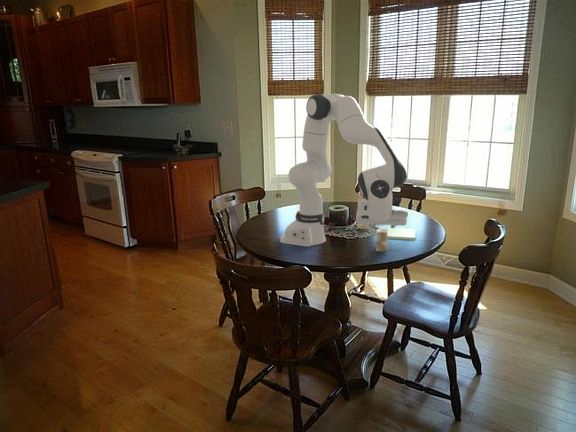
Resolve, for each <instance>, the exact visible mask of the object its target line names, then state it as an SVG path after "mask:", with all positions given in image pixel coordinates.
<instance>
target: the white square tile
mask: <svg viewBox="0 0 576 432" xmlns="http://www.w3.org/2000/svg"><path fill="white" fill-rule="evenodd" d="M386 230H388V232H387V239H388V240H389V239H393V240H405V241H406V240H409V241H415V240H416V229H415V228H403V227H402V228H401V227H395V228H394V229H393V228H391V227H386Z"/></svg>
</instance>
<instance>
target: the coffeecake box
mask: <svg viewBox="0 0 576 432" xmlns="http://www.w3.org/2000/svg"><path fill="white" fill-rule="evenodd" d="M365 201H368V200H366V199H365V198H363V197H362V195H361V193H360V191H358V192H357V209H358V208H359V203H360V202H365ZM356 225H357V226H356V228H357V229H359V228H360V230H369V231H370V230H371V228H372V227H373V226H374V224H372V227H368V226H367V225H366V224H361V223H357V222H356Z"/></svg>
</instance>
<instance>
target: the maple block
mask: <svg viewBox="0 0 576 432" xmlns="http://www.w3.org/2000/svg"><path fill="white" fill-rule="evenodd" d="M387 232H388V230H387V228H386V229H385V228H384V229H382V228H377V229H376V247H375V250H376V252H387V249H388V238H387Z"/></svg>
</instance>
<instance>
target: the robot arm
mask: <svg viewBox="0 0 576 432" xmlns="http://www.w3.org/2000/svg"><path fill="white" fill-rule="evenodd" d="M305 109H306V113H307V114H306V118H305V123H304V126H303V127H304V128H303V136H302V145H301V147H302V149H303V151H304V152H305V153H306V161H304V162H299V163H297V164H295V165H294V166H292V167H290V169H289V171H288V180H289V182H290V184H291V185H292V186H294V188H295V189H296V192H297V194H298V199H299V200H298V201H299V202H298V203H299V210H298V211H296V214H295V220H293V221H292V222H291V223H289V224H288V225H287V226H286V228H285V230H284V234H282V236H280V238H279V242H280V243H281V244H286V245H295V246H299V247H300V246H301V247H312V246H315V245H321V244H324V243H325V242H326V241H327V237H326V235H325V230H324V229H325V228H324V223H325V215H324V210H323V205H324V203H323V202H324V201H323V199H324V198H323V195H322V194H321V193H319V192H318V187H317V184H319V183H323V182H324V181H326V180H328V179H329V178H330V177H331V175H332V173H333V167H332V164H331V163H330V162H329V160H328V156H327V146H328V137H329V129H330V124H331V122H332V121H336V125H337V127H338V130H339V131H338V132H339V133H340V134H341V135H340V136H341V137H342V138H343V140H345V141H346V142H347V143H349V144H352V145H365V146H366V145H367V146H373V147H374V148H375V149H377V150H378V153H379V154H380V156H381V157H382V159H383V160H384V162H385V164H382V165H378V166H376V167H372V168H369V169H366V170H363V171H361V172H359V175H358V177H357V185H358V190H359V192H360V193H361V195H362V197H363V198H365V199H366V200H368V201H365V202H360V203H359V208H358V207H357V210H356V215H355V222H356V224H357V223H361V224H366V225H367V226H368V227H371V228H373V226H372V224H373V225H385V226H390V228H393V229H394V228H397V226H401V227H402V226H403V227H404V226H406V225H407V223H408V221H407V218H408V215H409V213H408V211H406V210H404V209H397V208H395V209H394V208H393V190H392V191H391V188H392V189H395V188H396V189H397V188H400V187H402V186H403V185H404V184H405V182H407V178H408V174H407V171H406V168H405V167H404V165H403V164H402V163H401V161H400V160H399V159H398V157H397V156H396V154H395V152H394V150H393V149H392V148H391V145H390V144H389V142H388V141H387V140H386V138H385V136H384V135H383V133H382V132H381V130H380V129H379V128H378V127H377V126H373V125H371V124H370V123H369V122H368V121H367V120H366V118H365V116H364V113H363V111H362V109H361V107H360V104H359V103H358V102H357V100H356V99H355V98H354V97H352V96H351V95H347V94H339V93H326V94H325V93H323V94H320V93H319V94H318V93H317V94H313V95H311V96H310V97H309V98H308V99H307V103H306V108H305Z"/></svg>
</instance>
